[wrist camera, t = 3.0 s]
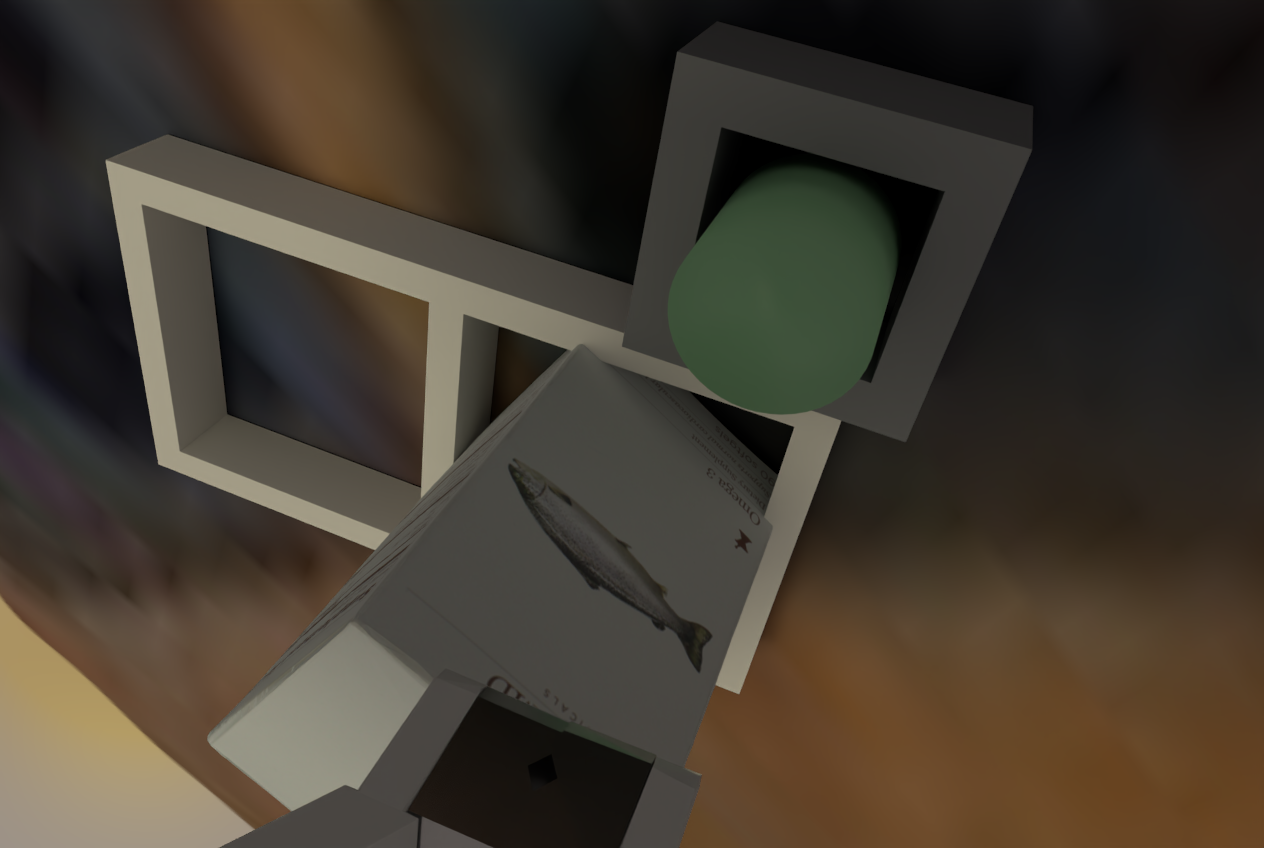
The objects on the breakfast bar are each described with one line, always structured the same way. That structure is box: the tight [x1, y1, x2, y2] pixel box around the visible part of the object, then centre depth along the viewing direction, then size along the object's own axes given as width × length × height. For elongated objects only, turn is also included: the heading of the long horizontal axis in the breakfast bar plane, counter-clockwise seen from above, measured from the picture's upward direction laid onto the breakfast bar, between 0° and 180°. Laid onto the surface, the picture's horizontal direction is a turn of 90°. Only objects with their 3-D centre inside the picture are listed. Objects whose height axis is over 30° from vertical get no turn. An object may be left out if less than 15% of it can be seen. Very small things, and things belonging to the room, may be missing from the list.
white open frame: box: [106, 134, 841, 694], centre depth 29 cm, size 21×11×2 cm, turn 80°
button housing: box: [622, 21, 1033, 442], centre depth 22 cm, size 7×7×3 cm
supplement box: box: [207, 344, 778, 811], centre depth 24 cm, size 7×7×13 cm
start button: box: [668, 154, 902, 415], centre depth 20 cm, size 4×4×4 cm
